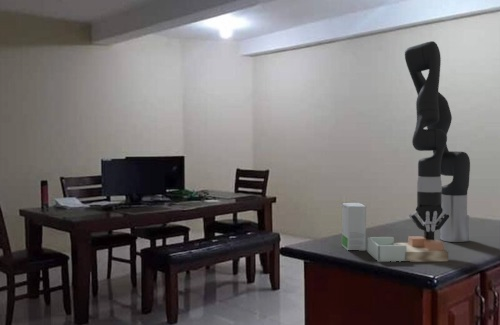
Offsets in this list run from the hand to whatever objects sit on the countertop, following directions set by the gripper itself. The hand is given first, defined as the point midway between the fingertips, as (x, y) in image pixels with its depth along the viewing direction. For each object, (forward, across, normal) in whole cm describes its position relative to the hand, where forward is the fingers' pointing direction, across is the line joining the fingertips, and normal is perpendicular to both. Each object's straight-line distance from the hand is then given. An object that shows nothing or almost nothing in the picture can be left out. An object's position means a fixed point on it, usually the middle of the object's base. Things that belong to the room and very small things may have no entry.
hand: (429, 242), depth 161 cm
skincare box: (+4, +22, -11) cm, 25 cm away
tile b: (+1, +1, +6) cm, 6 cm away
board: (+4, +4, +3) cm, 6 cm away
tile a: (+1, +4, 0) cm, 4 cm away
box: (+4, +15, +2) cm, 16 cm away
